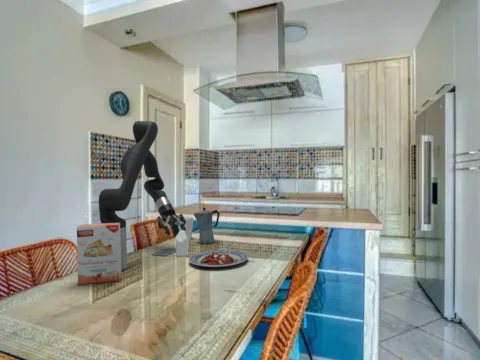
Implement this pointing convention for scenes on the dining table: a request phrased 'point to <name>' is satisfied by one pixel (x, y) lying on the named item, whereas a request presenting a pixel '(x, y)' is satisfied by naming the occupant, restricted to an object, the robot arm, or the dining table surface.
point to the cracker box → (98, 253)
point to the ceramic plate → (218, 258)
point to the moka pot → (206, 225)
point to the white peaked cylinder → (181, 244)
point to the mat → (166, 252)
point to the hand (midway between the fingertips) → (176, 232)
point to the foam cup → (188, 226)
